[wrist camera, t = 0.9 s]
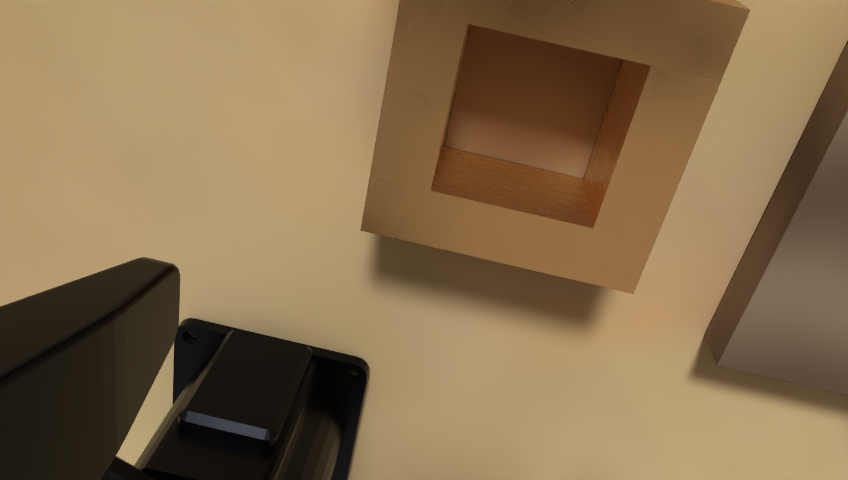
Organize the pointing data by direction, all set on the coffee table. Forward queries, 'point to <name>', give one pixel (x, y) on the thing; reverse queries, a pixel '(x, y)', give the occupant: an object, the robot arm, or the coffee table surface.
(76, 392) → the robot arm
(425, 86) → the brown hollow square block
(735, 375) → the coffee table surface
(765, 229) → the keeper plate
